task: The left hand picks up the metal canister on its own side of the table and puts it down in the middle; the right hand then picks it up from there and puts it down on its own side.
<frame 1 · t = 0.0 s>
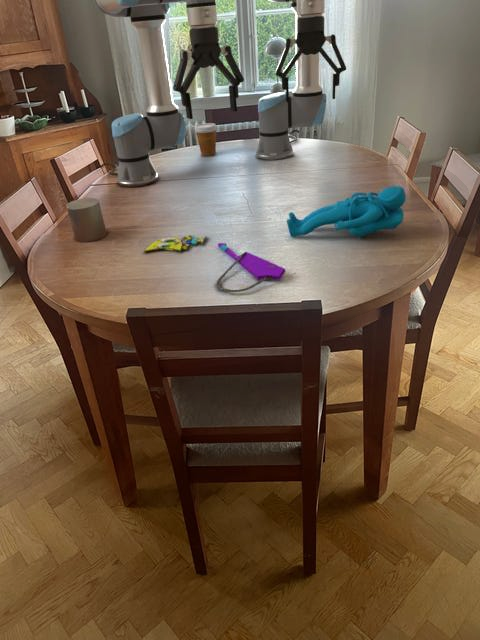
left hand: (212, 114, 136), 28 cm above the table, tool pointing down, fingers open, 13 cm apart
right hand: (310, 100, 143), 28 cm above the table, tool pointing down, fingers open, 13 cm apart
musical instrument: (237, 271, 114), on the table
disposable coffee cup: (208, 154, 210), on the table
toy: (343, 234, 128), on the table
canister: (91, 235, 141), on the table
toy 2: (176, 245, 130), on the table
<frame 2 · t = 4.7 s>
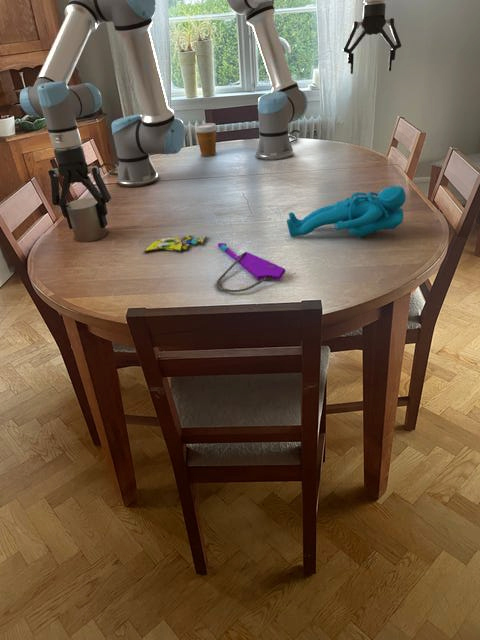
left hand: (88, 226, 140), 3 cm above the table, tool pointing down, fingers closed on canister, 9 cm apart
right hand: (370, 72, 177), 29 cm above the table, tool pointing down, fingers open, 13 cm apart
canister: (91, 235, 141), on the table, touching left hand
everything else where it was.
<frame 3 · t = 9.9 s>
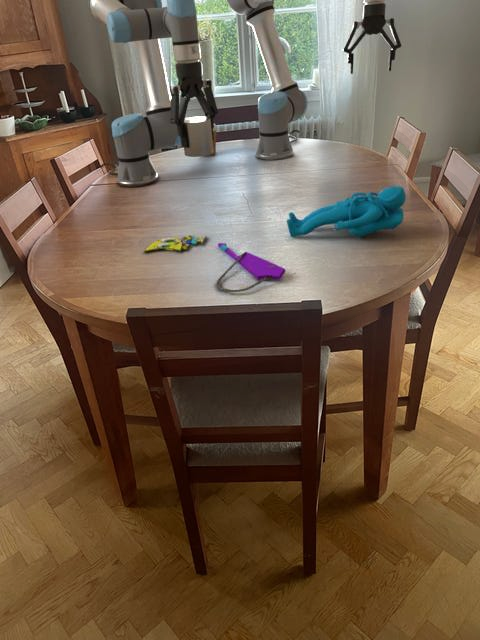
left hand: (198, 143, 148), 19 cm above the table, tool pointing down, fingers closed on canister, 9 cm apart
right hand: (370, 72, 177), 29 cm above the table, tool pointing down, fingers open, 13 cm apart
canister: (199, 153, 150), point 16 cm above the table, touching left hand
everything else where it was.
when the left hand's fingers open (4 cm above the table, at t = 15.4 s): canister drops 1 cm, on the table.
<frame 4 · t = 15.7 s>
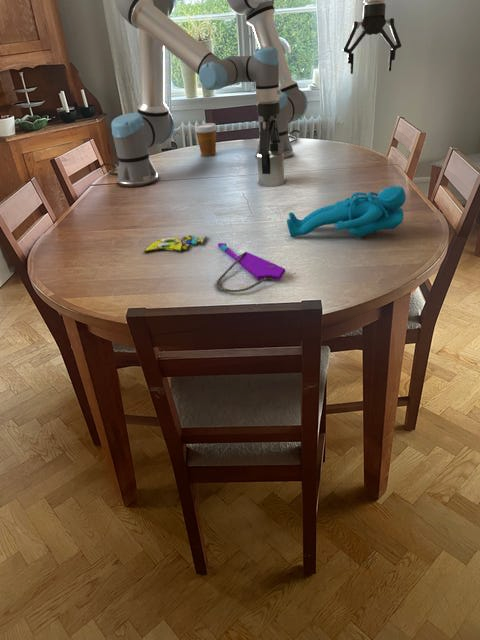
left hand: (270, 168, 168), 5 cm above the table, tool pointing down, fingers open, 13 cm apart
right hand: (370, 72, 177), 29 cm above the table, tool pointing down, fingers open, 13 cm apart
canister: (271, 182, 170), on the table
everything else where it was.
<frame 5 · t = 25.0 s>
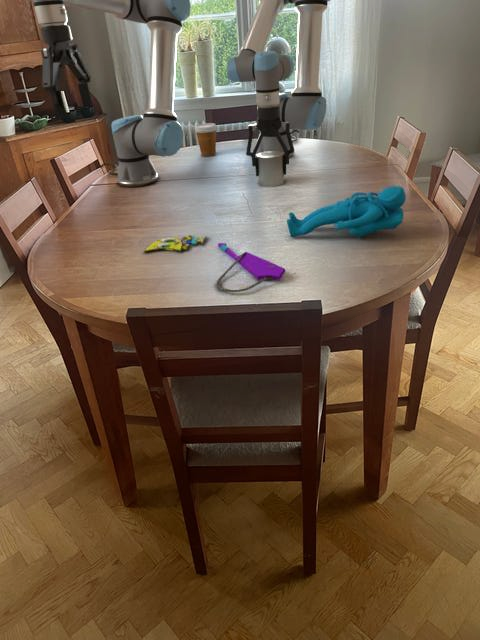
left hand: (75, 112, 137), 31 cm above the table, tool pointing down, fingers open, 13 cm apart
right hand: (271, 174, 169), 3 cm above the table, tool pointing down, fingers closed on canister, 9 cm apart
canister: (271, 182, 170), on the table, touching right hand
everything else where it was.
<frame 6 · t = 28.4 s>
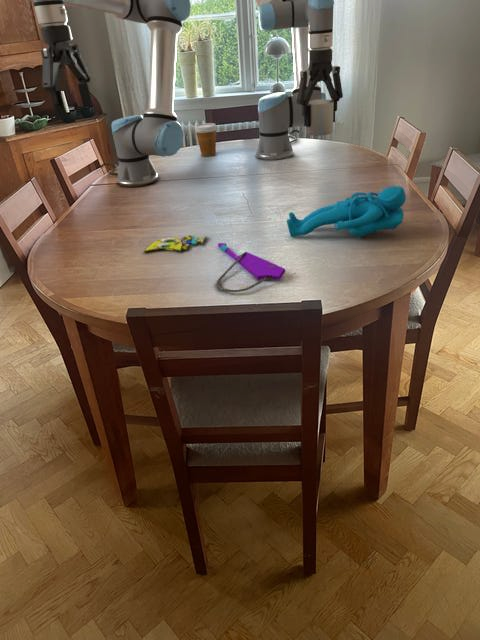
left hand: (75, 112, 137), 31 cm above the table, tool pointing down, fingers open, 13 cm apart
right hand: (319, 123, 164), 17 cm above the table, tool pointing down, fingers closed on canister, 9 cm apart
canister: (319, 132, 165), point 15 cm above the table, touching right hand
everything else where it was.
when the right hand's fingers open (4 cm above the table, at t = 32.0 s): canister drops 1 cm, on the table.
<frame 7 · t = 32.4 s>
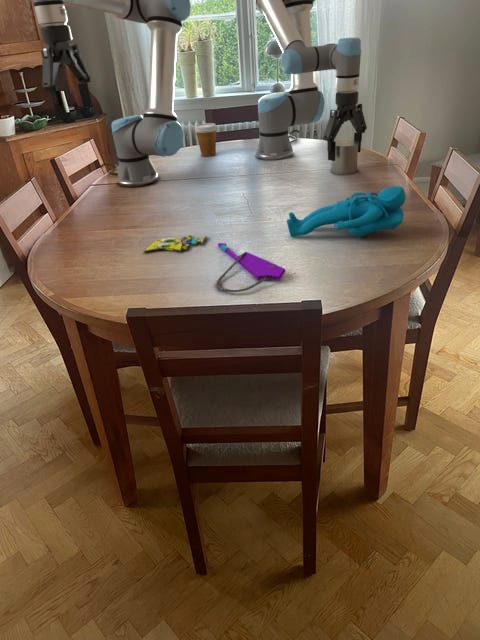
left hand: (75, 112, 137), 31 cm above the table, tool pointing down, fingers open, 13 cm apart
right hand: (344, 156, 172), 5 cm above the table, tool pointing down, fingers open, 13 cm apart
canister: (344, 170, 175), on the table
everything else where it was.
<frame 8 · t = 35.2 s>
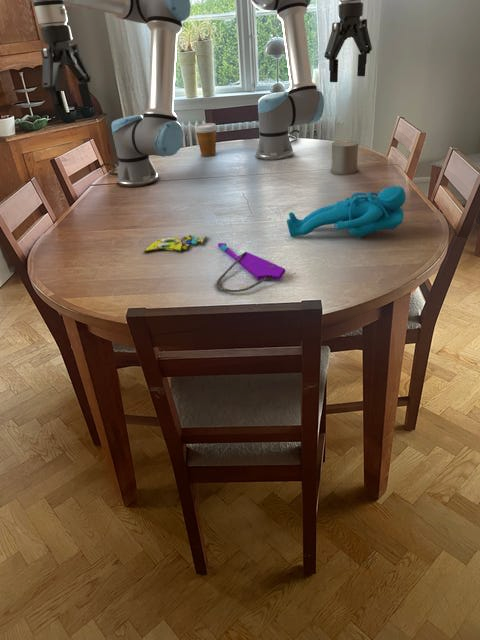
left hand: (75, 112, 137), 31 cm above the table, tool pointing down, fingers open, 13 cm apart
right hand: (347, 79, 159), 30 cm above the table, tool pointing down, fingers open, 13 cm apart
nothing on the table moved.
at the end: canister inside the target area (0.0 cm from its centre), on the table; canister tilted 0°; the two hands never held the canister at the same time; the left hand is holding nothing; the right hand is holding nothing; canister at rest at the end (0.0 cm/s) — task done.
